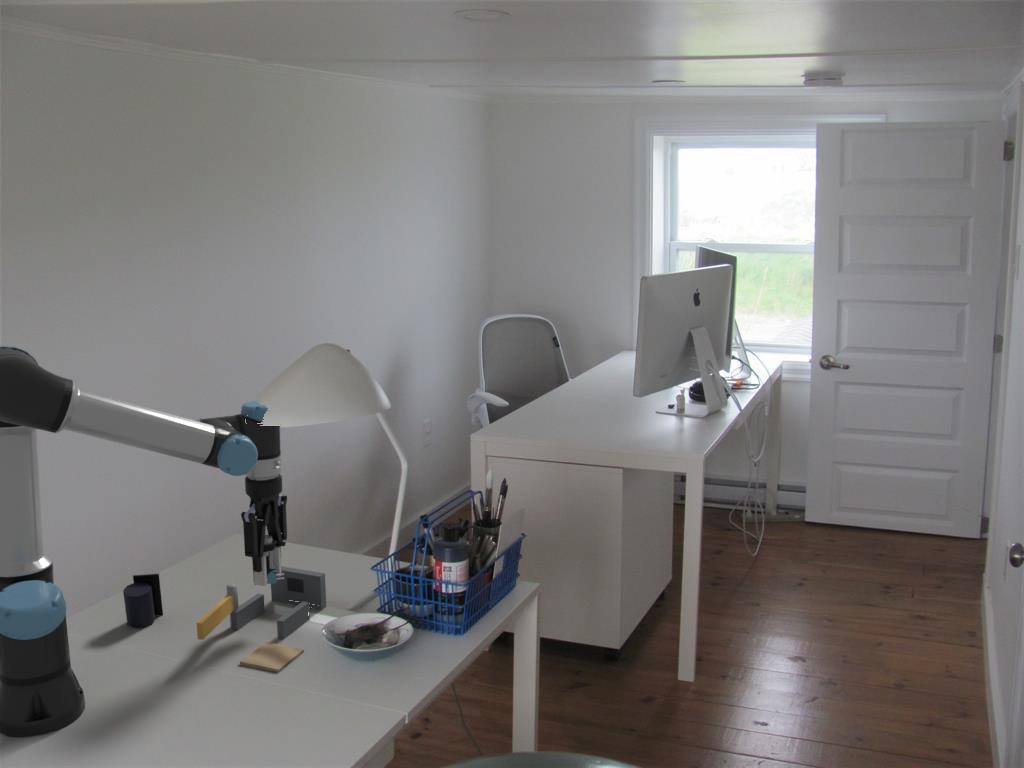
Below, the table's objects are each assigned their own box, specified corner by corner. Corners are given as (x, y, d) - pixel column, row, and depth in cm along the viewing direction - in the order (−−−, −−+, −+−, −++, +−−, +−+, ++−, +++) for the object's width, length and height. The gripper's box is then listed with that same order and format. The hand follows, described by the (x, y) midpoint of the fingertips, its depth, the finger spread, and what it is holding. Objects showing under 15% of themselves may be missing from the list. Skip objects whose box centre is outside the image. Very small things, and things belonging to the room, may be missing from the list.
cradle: (283, 639, 211) (282, 603, 210) (228, 628, 216) (226, 593, 214) (326, 606, 227) (325, 573, 225) (273, 597, 232) (272, 564, 230)
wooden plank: (230, 605, 217) (229, 583, 216) (240, 605, 217) (239, 584, 216) (195, 639, 202) (193, 615, 201) (205, 639, 201) (204, 616, 200)
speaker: (139, 611, 224) (135, 569, 221) (163, 614, 223) (160, 572, 220) (121, 629, 217) (117, 586, 213) (146, 633, 216) (142, 590, 213)
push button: (283, 576, 220) (281, 532, 218) (285, 584, 215) (283, 539, 213) (251, 579, 218) (249, 535, 216) (253, 588, 213) (251, 542, 211)
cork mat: (278, 672, 198) (278, 669, 197) (239, 664, 201) (239, 661, 201) (303, 652, 206) (303, 649, 206) (266, 644, 209) (265, 642, 209)
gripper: (253, 489, 202) (258, 598, 206) (302, 465, 218) (305, 567, 223) (222, 485, 204) (227, 593, 209) (272, 461, 220) (276, 562, 225)
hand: (268, 579), depth 216 cm, fingers closed on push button, 5 cm apart
